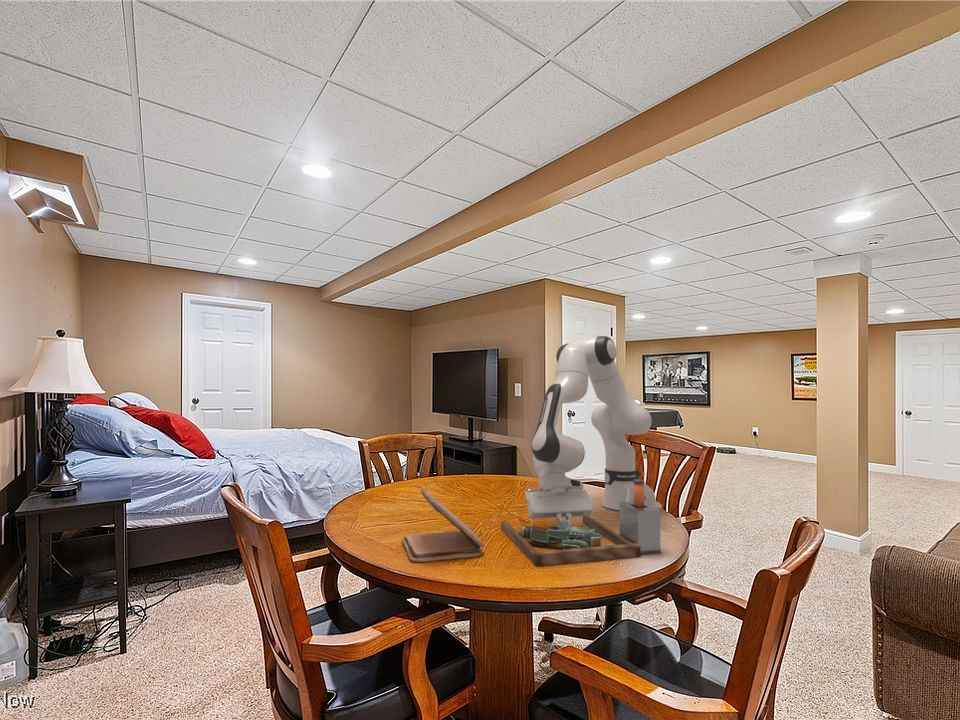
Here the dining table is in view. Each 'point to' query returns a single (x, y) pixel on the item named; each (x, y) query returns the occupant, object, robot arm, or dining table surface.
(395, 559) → the dining table surface
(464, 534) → the case
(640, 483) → the orange and black cylinder
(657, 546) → the grey holder box
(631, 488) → the robot arm
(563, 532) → the hoverbike
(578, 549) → the brown flat square frame
